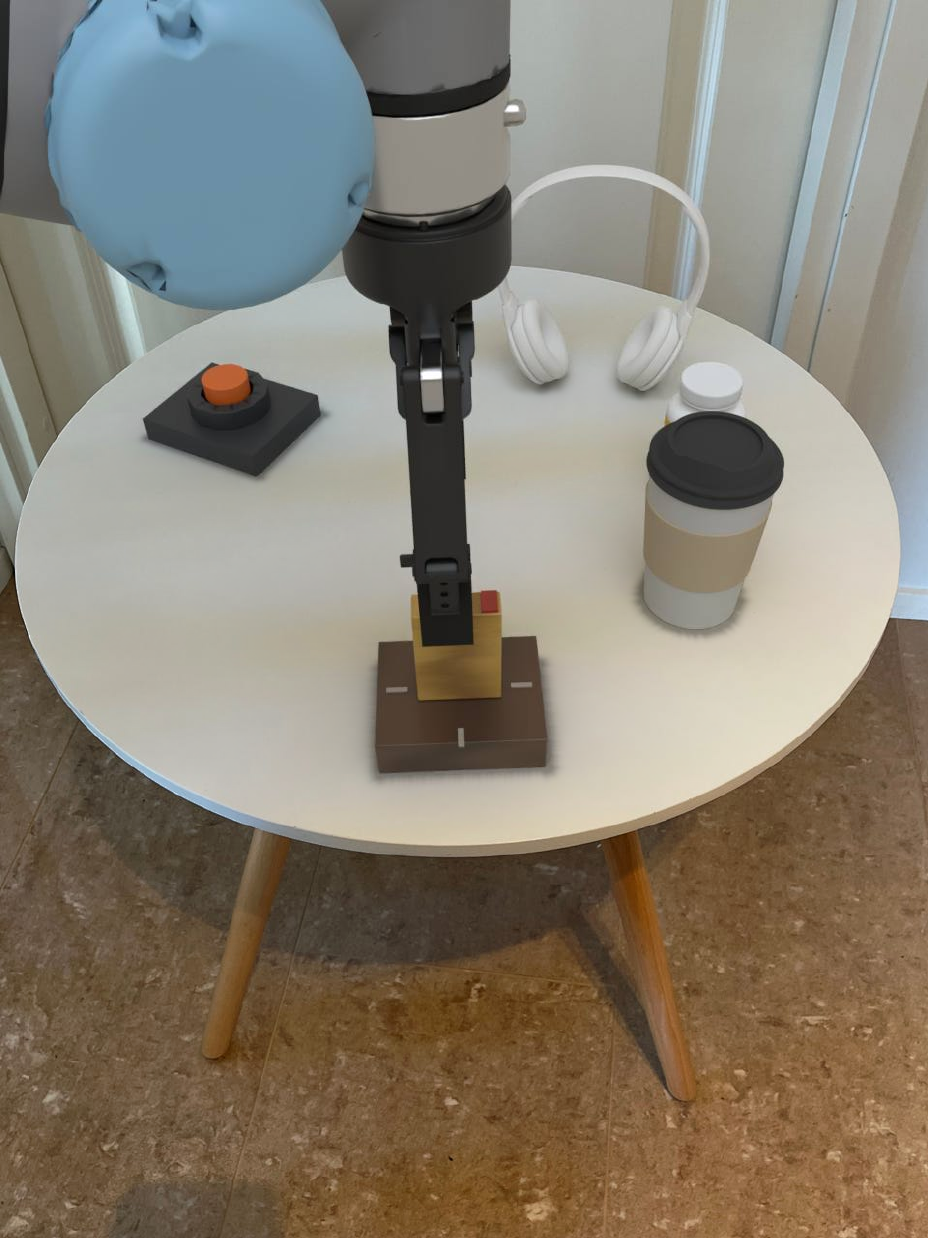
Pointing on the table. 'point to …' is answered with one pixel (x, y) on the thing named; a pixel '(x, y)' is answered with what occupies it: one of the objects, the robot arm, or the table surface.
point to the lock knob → (462, 655)
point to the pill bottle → (707, 391)
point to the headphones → (652, 338)
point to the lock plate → (460, 716)
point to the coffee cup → (705, 514)
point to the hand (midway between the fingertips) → (445, 552)
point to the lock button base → (234, 422)
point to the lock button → (226, 384)
